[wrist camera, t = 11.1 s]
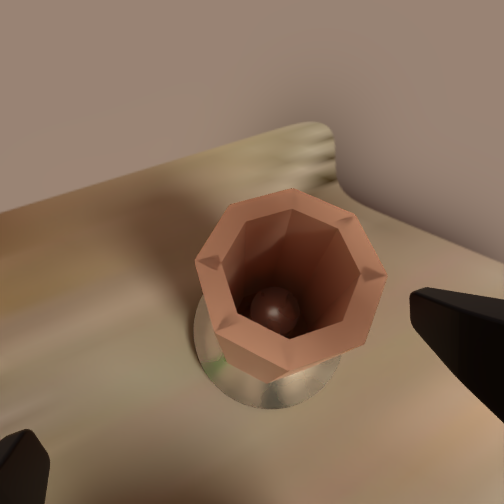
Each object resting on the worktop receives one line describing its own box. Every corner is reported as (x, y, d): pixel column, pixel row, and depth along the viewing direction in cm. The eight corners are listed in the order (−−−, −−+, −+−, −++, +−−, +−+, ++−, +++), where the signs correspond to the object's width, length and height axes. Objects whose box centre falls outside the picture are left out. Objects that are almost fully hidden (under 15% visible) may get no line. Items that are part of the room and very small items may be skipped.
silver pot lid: (359, 297, 22) (388, 273, 18) (307, 439, 19) (327, 453, 14) (237, 240, 24) (236, 205, 19) (166, 362, 20) (146, 352, 16)
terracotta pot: (333, 303, 21) (402, 234, 12) (295, 399, 19) (345, 401, 10) (247, 263, 22) (250, 170, 13) (200, 348, 20) (165, 306, 11)
